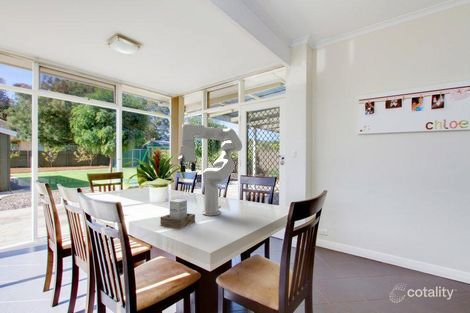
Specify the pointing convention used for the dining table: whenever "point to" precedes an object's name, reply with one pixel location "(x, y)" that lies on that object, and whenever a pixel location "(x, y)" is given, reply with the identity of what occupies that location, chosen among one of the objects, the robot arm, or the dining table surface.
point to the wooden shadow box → (177, 221)
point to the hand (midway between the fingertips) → (188, 171)
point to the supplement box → (178, 209)
